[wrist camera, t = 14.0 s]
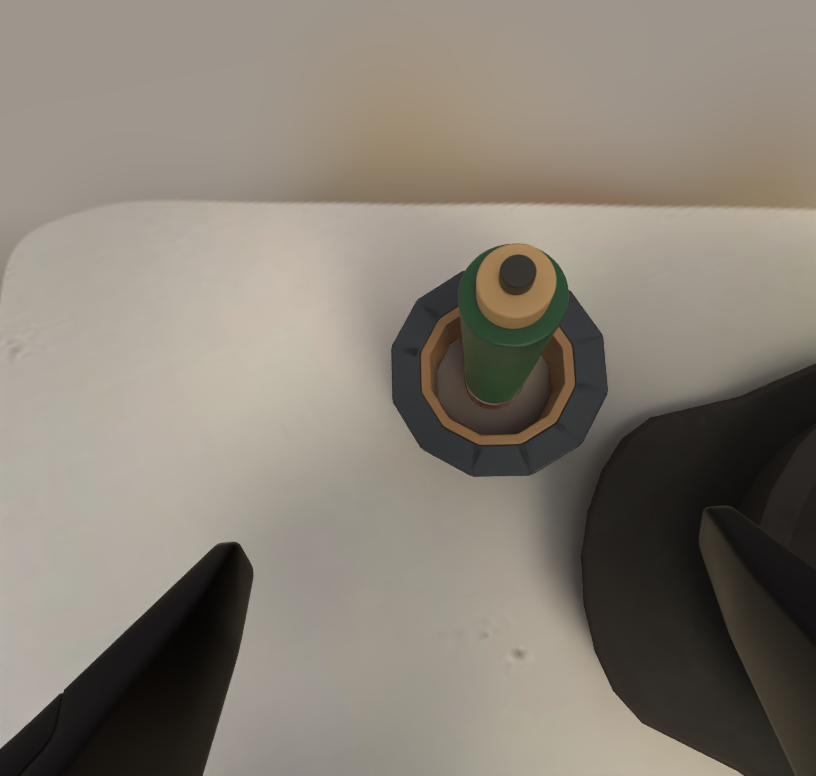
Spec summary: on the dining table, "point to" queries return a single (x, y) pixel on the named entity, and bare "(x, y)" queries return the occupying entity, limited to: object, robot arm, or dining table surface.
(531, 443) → the tape roll
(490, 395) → the pencil
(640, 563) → the casserole
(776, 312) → the dining table surface
